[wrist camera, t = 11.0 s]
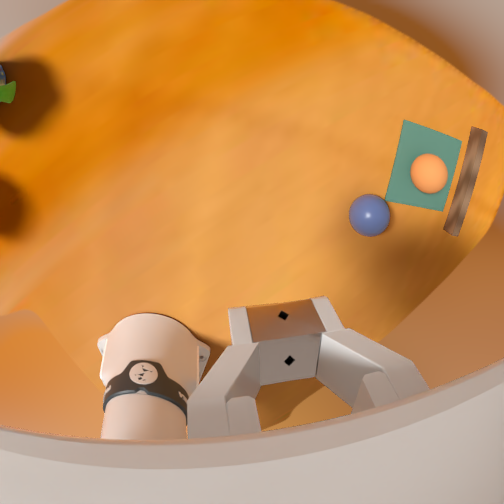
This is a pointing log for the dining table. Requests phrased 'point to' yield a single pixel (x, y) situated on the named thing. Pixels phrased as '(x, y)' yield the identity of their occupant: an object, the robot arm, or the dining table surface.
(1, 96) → the snack cup
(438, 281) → the dining table surface
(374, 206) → the blue ball
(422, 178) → the orange ball
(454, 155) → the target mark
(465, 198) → the rail
